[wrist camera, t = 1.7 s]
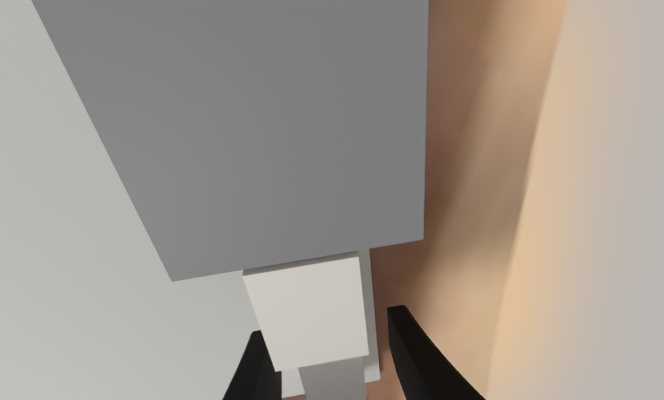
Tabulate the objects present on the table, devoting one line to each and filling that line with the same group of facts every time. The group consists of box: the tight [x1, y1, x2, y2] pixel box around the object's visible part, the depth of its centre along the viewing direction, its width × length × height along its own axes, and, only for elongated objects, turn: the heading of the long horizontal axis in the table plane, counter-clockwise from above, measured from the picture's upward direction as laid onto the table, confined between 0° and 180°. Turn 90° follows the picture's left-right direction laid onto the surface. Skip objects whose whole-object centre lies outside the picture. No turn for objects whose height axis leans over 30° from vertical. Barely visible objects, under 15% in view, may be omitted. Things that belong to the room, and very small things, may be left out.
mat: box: [0, 0, 380, 400], centre depth 12 cm, size 20×18×1 cm
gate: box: [31, 0, 429, 400], centre depth 9 cm, size 17×3×6 cm, turn 7°
